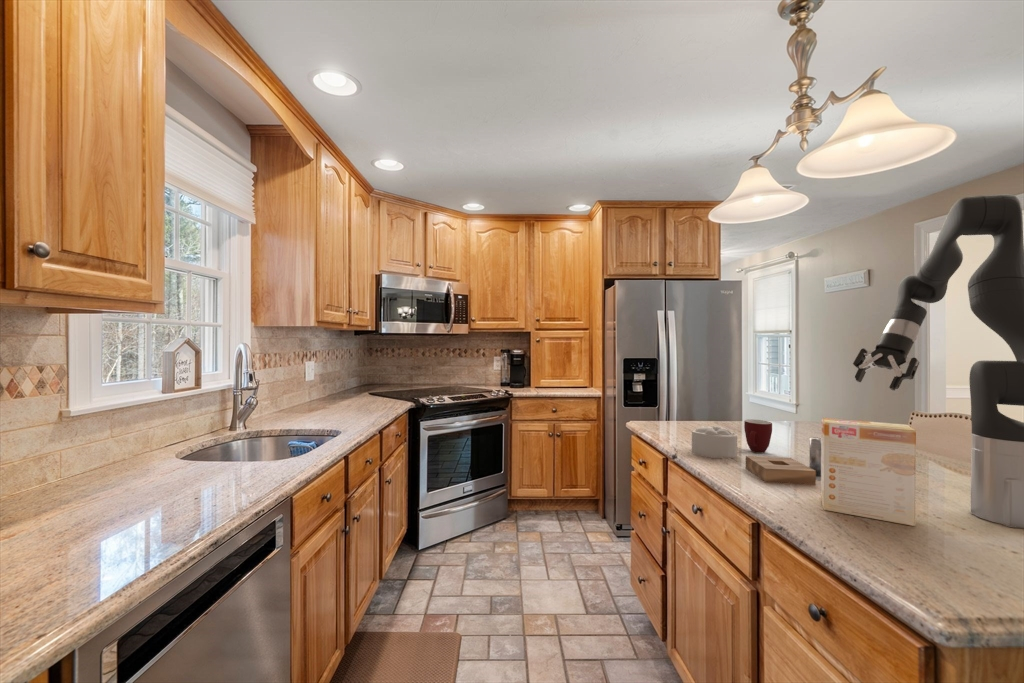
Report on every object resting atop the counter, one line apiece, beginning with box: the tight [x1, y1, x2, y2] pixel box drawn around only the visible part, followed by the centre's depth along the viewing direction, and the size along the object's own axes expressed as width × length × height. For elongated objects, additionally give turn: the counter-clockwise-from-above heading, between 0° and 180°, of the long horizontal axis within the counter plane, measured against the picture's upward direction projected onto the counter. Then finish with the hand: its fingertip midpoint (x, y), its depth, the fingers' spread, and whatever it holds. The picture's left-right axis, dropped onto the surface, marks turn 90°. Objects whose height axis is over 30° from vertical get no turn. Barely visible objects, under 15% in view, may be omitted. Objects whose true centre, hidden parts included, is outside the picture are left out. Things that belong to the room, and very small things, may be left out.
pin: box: [808, 436, 821, 477], centre depth 114 cm, size 3×3×10 cm
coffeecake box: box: [820, 417, 917, 527], centre depth 90 cm, size 15×7×20 cm, turn 58°
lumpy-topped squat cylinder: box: [691, 425, 738, 460], centre depth 135 cm, size 10×13×9 cm
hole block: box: [745, 455, 817, 486], centre depth 112 cm, size 12×12×4 cm
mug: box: [743, 419, 773, 454], centre depth 138 cm, size 11×8×10 cm
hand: (874, 385), depth 125 cm, fingers open, 8 cm apart
